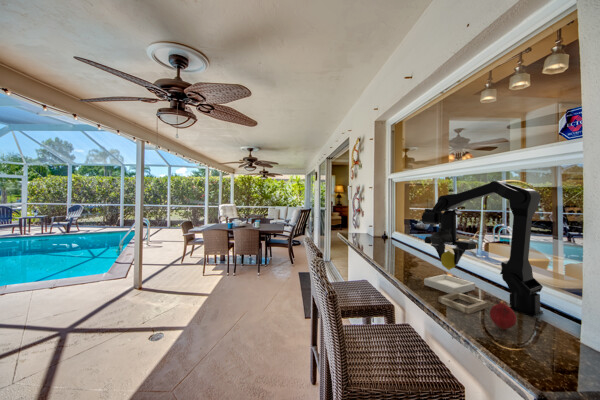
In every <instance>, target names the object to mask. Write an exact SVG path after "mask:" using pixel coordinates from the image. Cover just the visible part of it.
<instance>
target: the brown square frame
mask: <svg viewBox="0 0 600 400" xmlns="http://www.w3.org/2000/svg"><path fill="white" fill-rule="evenodd" d="M457 299H459V300H462V301H464V302H467V303H470V305H465V304H462V303H460V302H459V303H458V302H457V301H454V300H457ZM437 301H438V303H441V304H443V305H446V306H448V307H450V308H452V309H455V310H458V311H460V312H462V313H465V314H466V315H470V314H474V313H475V312H478V311H479V312H480V311H482V310H486V309H488V308H489V302H488V301H485V300H483V299H479V298H476V297H474V296H470V295H467V294H464V293H459V292H455V293H451V294H449V293H447V294H444V295H440V296H438V300H437Z"/></svg>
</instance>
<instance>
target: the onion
mask: <svg viewBox="0 0 600 400" xmlns="http://www.w3.org/2000/svg"><path fill="white" fill-rule="evenodd" d="M489 317H490V320H491V321H492V322H493V324H495V325H496V326H497V327H498V328H500V330H507V329H511V328H512V327H514V326H515V325H516V323H517V314H516V313H515V312H514V310H512V309H511V308H510V305H509V306H508V305H507V304H506V301H505V300H503V299H502V300H500V301H499V303H496V304H495V305H493V306H492V307H490V310H489Z"/></svg>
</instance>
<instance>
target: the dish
mask: <svg viewBox="0 0 600 400" xmlns="http://www.w3.org/2000/svg"><path fill="white" fill-rule="evenodd" d="M423 283H424V286H427V287H430V288H433V289H436V290H438V291H441V292H444V293H447V294H451V293H455V292H459V293H462V294H464V293H467V292H471V291H475V290H476V283H475V282H472V281H469V280H465V279H462V278H458V277H455V276H452V275H448V274H445V273H444V274H439V275H435V276H430V277H425V278H424V282H423Z"/></svg>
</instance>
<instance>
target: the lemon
mask: <svg viewBox="0 0 600 400" xmlns="http://www.w3.org/2000/svg"><path fill="white" fill-rule="evenodd" d="M440 262H441V265H442V267H444V268H445V269H447V270H448V271H451V269H454V268H455V267H457V265H455V263H454V252H451V251H450V250H447V251H445V252H444V253H443V254H442V256H441V260H440Z"/></svg>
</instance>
